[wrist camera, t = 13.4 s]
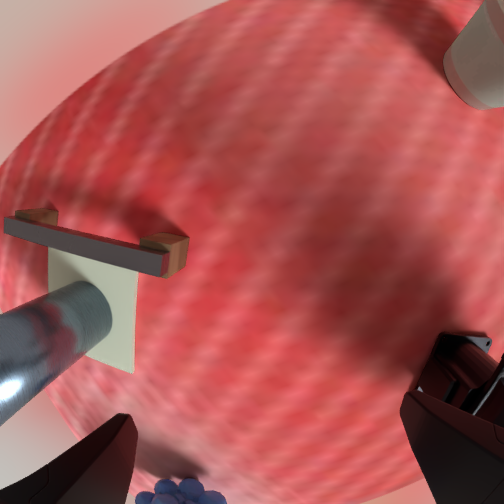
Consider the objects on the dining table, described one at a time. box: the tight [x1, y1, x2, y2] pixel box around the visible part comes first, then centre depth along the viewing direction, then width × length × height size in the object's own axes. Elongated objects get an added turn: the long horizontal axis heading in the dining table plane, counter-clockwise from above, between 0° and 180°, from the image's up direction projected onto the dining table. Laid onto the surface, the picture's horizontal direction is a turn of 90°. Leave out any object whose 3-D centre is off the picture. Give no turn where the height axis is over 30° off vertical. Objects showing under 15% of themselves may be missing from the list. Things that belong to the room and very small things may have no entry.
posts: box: [15, 208, 189, 279], centre depth 19 cm, size 14×2×4 cm, turn 79°
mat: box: [48, 247, 139, 374], centre depth 21 cm, size 9×9×1 cm
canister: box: [0, 281, 113, 426], centre depth 15 cm, size 5×5×13 cm
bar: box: [4, 216, 170, 277], centre depth 16 cm, size 14×1×1 cm, turn 79°
